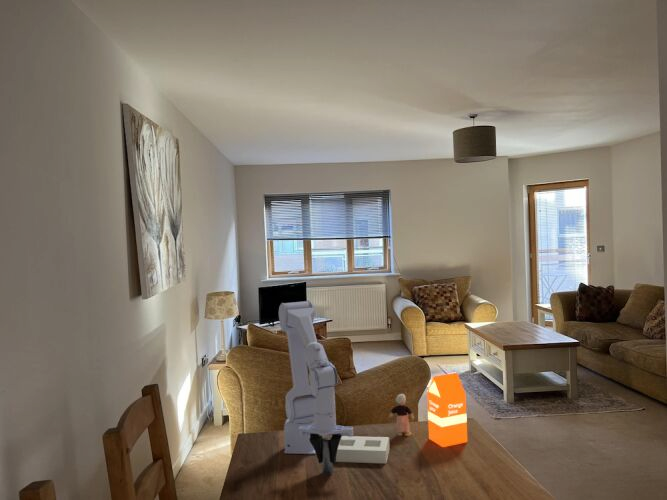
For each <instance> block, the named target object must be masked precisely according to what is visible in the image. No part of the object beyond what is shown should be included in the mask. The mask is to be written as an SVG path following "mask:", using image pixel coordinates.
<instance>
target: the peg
mask: <svg viewBox="0 0 667 500" xmlns="http://www.w3.org/2000/svg"><path fill="white" fill-rule="evenodd" d="M330 439H331V437H328V436H327V437H326V436H323V437H322V438H321V458H322V462H321V472H322V473H321V474H322V475H324V476H330V475H333V474H334V464H332V451H331V443H330Z"/></svg>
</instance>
